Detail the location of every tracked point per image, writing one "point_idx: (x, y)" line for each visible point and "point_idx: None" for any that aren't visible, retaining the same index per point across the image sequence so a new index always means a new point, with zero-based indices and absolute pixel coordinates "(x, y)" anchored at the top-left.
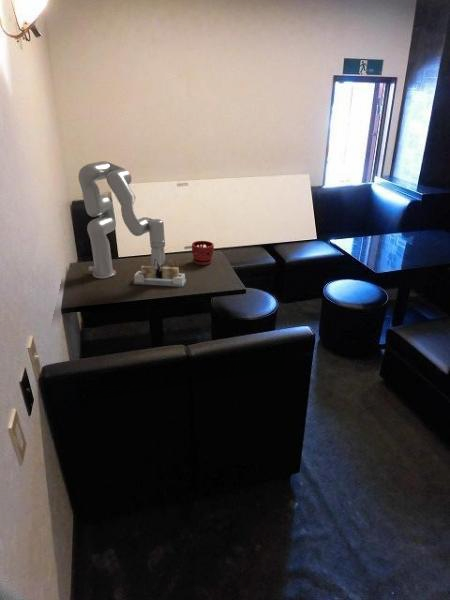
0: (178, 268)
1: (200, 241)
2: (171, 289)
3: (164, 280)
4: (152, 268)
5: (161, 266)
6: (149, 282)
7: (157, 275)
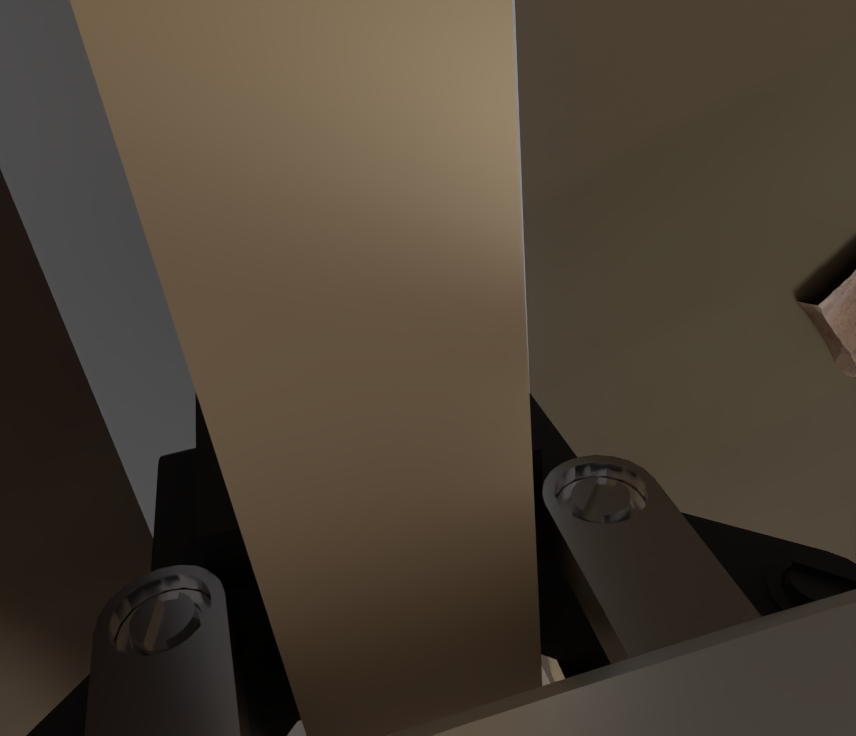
0: None
1: None
2: (29, 706)
3: None
4: (220, 430)
5: (606, 659)
6: (19, 95)
7: (161, 494)
